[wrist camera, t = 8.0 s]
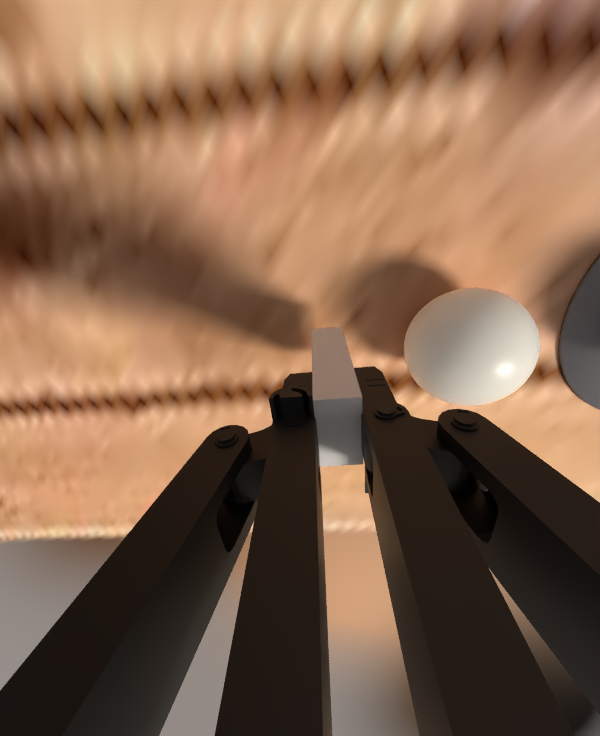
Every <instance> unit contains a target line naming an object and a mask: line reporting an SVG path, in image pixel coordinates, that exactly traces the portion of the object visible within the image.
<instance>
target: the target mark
mask: <svg viewBox="0 0 600 736" xmlns="http://www.w3.org/2000/svg"><path fill="white" fill-rule="evenodd" d="M559 358H560V365H561V368H562V372H563V375H564V377H565V379H566V381H567V383H568V385H569V386H570V387H571V389H572V390H573V391H574V393H575V394H577V395H578V396H579V397H580V398H581V399H582V400H584V401H585V402H587V403H588V404H590V405H592V406H593V407H595V408H597V409H600V256H599V257H598V258H597V260H596V261H595V262H594V263H593V265H592V266H591V267H590V269H589V270H588V272H587V273H586V275H585V277H584V278H583V280H582V281H581V283H580V284H579V286H578V288H577V290H576V292H575V294H574V296H573V298H572V300H571V302H570V304H569V307H568V309H567V312H566V314H565V317H564V321H563V325H562V329H561V333H560V341H559Z"/></svg>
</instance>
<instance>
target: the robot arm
mask: <svg viewBox="0 0 600 736" xmlns="http://www.w3.org/2000/svg"><path fill="white" fill-rule="evenodd" d="M269 402H270V408H271V413H272V419H273V423H272V425H271V426H269V427H268V428H266V429H263V430H261V431H258V432H254V433H251V434H248V430H247V429H245V428H244V427H242V426H238V425H229V426H225V427H221V428H219V429H217V430H215V431H213V432H212V433H211V434H210V435H209V436H208V437H207V438H206V439H205V440H204V442H203V443H202V444H201V445H200V446H199V448H198V449H197V450H196V451H195V453H194V454H193V455H192V456H191V458H190V459H189V460H188V461H187V462H186V464H185V465H184V466H183V467H182V469H181V470H180V471H179V472H178V473H177V475H176V476H175V477H174V478H173V480H172V481H171V482H170V483H169V485H168V486H167V487H166V488H165V489H164V491H163V492H162V493H161V494H160V496H159V497H158V498H157V499H156V500H155V502H154V503H153V504H152V505H151V507H150V508H149V509H148V510H147V511H146V513H145V514H144V515H143V516H142V518H141V519H140V520H139V521H138V523H137V524H136V525H135V526H134V527H133V529H132V530H131V531H130V532H129V534H128V535H127V536H126V537H125V538H124V540H123V541H122V542H121V544H120V545H119V546H118V547H117V548H116V550H115V551H114V552H113V553H112V554H111V556H110V557H109V558H108V559H107V561H106V562H105V563H104V564H103V565H102V567H101V568H100V569H99V570H98V572H97V573H96V574H95V575H94V576H93V578H92V579H91V580H90V581H89V583H88V584H87V585H86V586H85V588H84V589H83V590H82V591H81V593H80V594H79V595H78V596H77V597H76V599H75V600H74V601H73V602H72V604H71V605H70V606H69V607H68V608H67V610H66V611H65V612H64V613H63V615H62V616H61V617H60V618H59V619H58V621H57V622H56V623H55V624H54V626H53V627H52V628H51V629H50V630H49V632H48V633H47V634H46V636H45V637H44V638H43V639H42V640H41V642H40V643H39V644H38V646H37V647H36V648H35V649H34V650H33V651H32V653H31V654H30V655H29V656H28V658H27V659H26V660H25V661H24V662H23V664H22V665H21V666H20V667H19V668H18V670H17V671H16V673H14V675H13V676H12V677H11V678H10V680H9V681H8V682H7V683H6V685H5V686H4V687H3V688H2V689H1V691H0V736H159V734H160V732H161V730H162V728H163V725H164V723H165V721H166V719H167V716H168V714H169V712H170V710H171V707H172V705H173V703H174V701H175V698H176V696H177V694H178V691H179V689H180V687H181V685H182V682H183V680H184V678H185V676H186V673H187V671H188V669H189V667H190V664H191V662H192V660H193V657H194V655H195V653H196V651H197V648H198V646H199V644H200V642H201V639H202V637H203V635H204V633H205V630H206V628H207V626H208V624H209V621H210V619H211V617H212V615H213V612H214V610H215V608H216V606H217V603H218V601H219V599H220V596H221V594H222V592H223V590H224V587H225V585H226V583H227V580H228V578H229V576H230V574H231V572H232V569H233V567H234V565H235V563H236V560H237V558H238V556H239V554H240V551H241V549H242V547H243V545H244V542H245V540H246V538H247V536H248V533H249V531H250V529H251V526H252V524H253V522H254V526H253V531H252V537H251V542H250V548H249V553H248V558H247V564H246V569H245V575H244V580H243V585H242V591H241V597H240V602H239V607H238V613H237V618H236V623H235V629H234V635H233V640H232V645H231V650H230V656H229V662H228V667H227V672H226V677H225V683H224V689H223V694H222V699H221V704H220V710H219V716H218V721H217V726H216V732H215V736H332V721H331V720H332V719H331V696H330V673H329V650H328V629H327V605H326V584H325V583H326V582H325V559H324V539H323V538H324V537H323V514H322V491H321V474H320V466H338V465H356V464H363V458H364V462H365V493H369V498H370V502H371V507H372V512H373V517H374V521H375V526H376V531H377V536H378V540H379V545H380V550H381V554H382V559H383V564H384V568H385V574H386V578H387V583H388V588H389V593H390V597H391V602H392V606H393V612H394V616H395V621H396V626H397V630H398V635H399V640H400V645H401V650H402V654H403V659H404V664H405V669H406V673H407V678H408V683H409V687H410V692H411V697H412V702H413V707H414V711H415V716H416V721H417V726H418V731H419V735H420V736H574V734H573V732H572V731H571V728H570V726H569V725H568V723H567V721H566V719H565V717H564V715H563V713H562V711H561V709H560V707H559V706H558V703H557V701H556V699H555V697H554V695H553V693H552V692H551V689H550V687H549V685H548V684H547V682H546V680H545V678H544V676H543V674H542V672H541V670H540V668H539V666H538V664H537V662H536V660H535V658H534V656H533V654H532V652H531V650H530V648H529V646H528V644H527V642H526V640H525V639H524V637H523V635H522V633H521V631H520V629H519V627H518V625H517V623H516V621H515V619H514V617H513V615H512V613H511V611H510V609H509V607H508V605H507V603H506V601H505V599H504V597H503V595H502V593H501V591H500V590H499V588H498V586H497V584H496V582H495V580H494V578H493V576H492V574H491V572H490V570H491V571H492V573H493V574H494V575H495V577H496V578H497V579H498V581H499V582H500V583H501V584H502V586H503V587H504V588H505V590H506V591H507V592H508V594H509V595H510V596H511V598H512V599H513V600H514V602H515V603H516V604H517V606H518V607H519V608H520V610H521V611H522V612H523V613H524V615H525V616H526V617H527V619H528V620H529V621H530V623H531V624H532V625H533V627H534V628H535V629H536V631H537V632H538V633H539V635H540V636H541V637H542V639H543V640H544V641H545V643H546V644H547V645H548V647H549V648H550V649H551V651H552V652H553V653H554V654H555V656H556V657H557V658H558V660H559V661H560V663H561V664H562V665H563V666H564V668H565V669H566V670H567V672H568V673H569V674H570V676H571V677H572V678H573V680H574V681H575V682H576V684H577V685H578V686H579V687H580V689H581V690H582V692H583V693H584V694H585V696H586V697H587V698H588V700H589V701H590V702H591V703H592V705H593V706H594V707H595V709H596V710H597V711H598V713H599V714H600V503H599V502H598V501H597V500H595V499H594V498H593V497H591V496H590V495H589V494H587V493H586V492H585V491H583V490H582V489H581V488H579V487H578V486H576V485H575V484H574V483H572V482H571V481H570V480H568V479H567V478H566V477H564V476H563V475H562V474H560V473H559V472H558V471H556V470H555V469H554V468H552V467H551V466H550V465H548V464H547V463H546V462H544V461H543V460H542V459H540V458H539V457H537V456H536V455H535V454H533V453H532V452H531V451H529V450H528V449H527V448H525V447H524V446H523V445H521V444H520V443H519V442H517V441H516V440H515V439H513V438H512V437H511V436H509V435H508V434H507V433H505V432H504V431H502V430H501V429H500V428H498V427H497V426H496V425H494V424H493V423H492V422H490V421H489V420H488V419H486V418H485V417H483V416H481V415H479V414H478V413H475V412H472V411H469V410H462V409H452V410H447V411H445V412H442V413H441V415H440V416H439V418H438V421H432V420H425V419H419V418H415V417H412V416H411V415H410V413H409V411H408V410H407V409H406V408H405V407H404V406H402V405H400V404H398V403H397V402H396V400H395V398H394V396H393V394H392V392H391V390H390V388H389V386H388V384H387V381H386V380H385V377H384V375H383V373H382V372H381V371H380V370H379V369H377V368H376V367H374V366H373V367H361V368H354V367H353V364H352V361H351V357H350V354H349V350H348V347H347V344H346V340H345V337H344V333H343V330H342V327H331V328H320V329H312V372H309V373H296V374H290V375H289V376H288V377H287V378H286V379H285V380H284V386H283V388H281V389H279V390H277V391H275V392H274V393H272V394H271V396H270V398H269ZM488 567H489V568H488ZM489 569H490V570H489Z"/></svg>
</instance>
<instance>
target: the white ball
mask: <svg viewBox="0 0 600 736" xmlns="http://www.w3.org/2000/svg"><path fill="white" fill-rule="evenodd" d="M539 351H540V339H539V332H538V329H537V326H536V324H535V322H534V320H533V318H532V316H531V315H530V314H529V312H528V311H527V310H526V309H525V308H524V307H523V306H522V305H521V304H520V303H519V302H517V301H516V300H514V299H513V298H511V297H510V296H508V295H506V294H503V293H501V292H498V291H495V290H491V289H485V288H463V289H458V290H454V291H451V292H448V293H445V294H442V295H440V296H438V297H436V298H435V299H433V300H431V301H430V302H429V303H427V304H426V305H425V306H424V307H423V308H422V309H421V310H420V311H419V312H418V313H417V314H416V315H415V317H414V318H413V320H412V321H411V323H410V325H409V327H408V330H407V333H406V336H405V340H404V357H405V362H406V365H407V367H408V370H409V372H410V374H411V376H412V377H413V379H414V380H415V381H416V383H417V384H418V385H419V386H420V387H421V388H422V389H423V390H425V391H426V392H427V393H429V394H430V395H432V396H433V397H435V398H437V399H439V400H442V401H445V402H448V403H451V404H457V405H464V406H472V405H483V404H488V403H491V402H495V401H497V400H500V399H502V398H504V397H506V396H508V395H510V394H511V393H513V392H514V391H516V390H517V389H518V388H519V387H520V386H521V385H523V384H524V382H525V381H526V380H527V379H528V378H529V376H530V375H531V373H532V372H533V370H534V368H535V366H536V363H537V360H538V356H539Z"/></svg>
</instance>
